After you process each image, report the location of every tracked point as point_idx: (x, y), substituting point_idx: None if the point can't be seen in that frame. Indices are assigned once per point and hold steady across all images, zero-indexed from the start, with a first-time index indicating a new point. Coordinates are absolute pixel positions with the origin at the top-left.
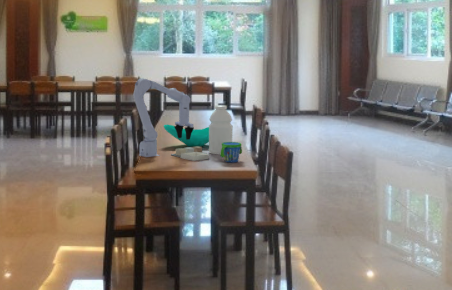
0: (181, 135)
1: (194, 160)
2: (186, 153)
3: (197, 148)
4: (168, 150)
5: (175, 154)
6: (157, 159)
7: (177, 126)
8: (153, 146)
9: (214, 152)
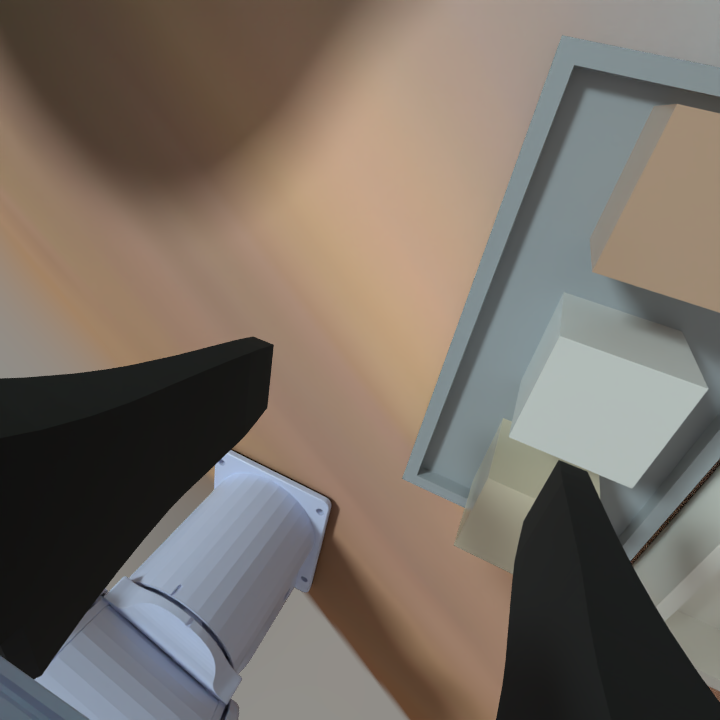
0: (238, 369)
1: None
2: (684, 599)
3: None
4: (123, 132)
5: (432, 436)
6: (422, 628)
7: (7, 650)
8: (265, 624)
9: None
